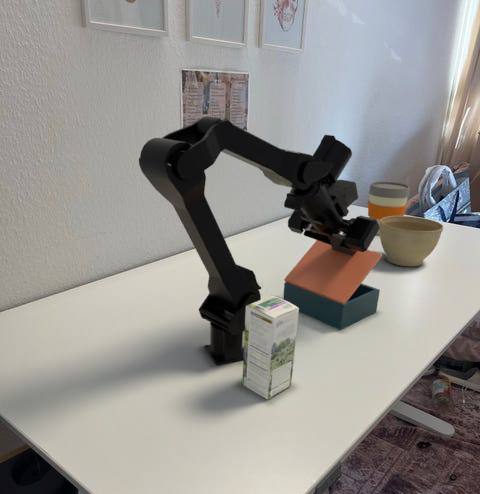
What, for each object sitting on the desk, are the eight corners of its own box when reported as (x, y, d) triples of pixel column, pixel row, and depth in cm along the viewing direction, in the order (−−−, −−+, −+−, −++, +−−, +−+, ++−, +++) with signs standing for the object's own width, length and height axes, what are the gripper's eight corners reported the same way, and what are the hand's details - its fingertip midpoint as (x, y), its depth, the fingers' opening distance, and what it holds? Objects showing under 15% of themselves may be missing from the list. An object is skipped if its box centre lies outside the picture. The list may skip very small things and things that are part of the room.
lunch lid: (321, 238, 106) (314, 221, 102) (382, 256, 96) (377, 238, 92) (285, 281, 103) (276, 265, 99) (344, 305, 92) (337, 288, 89)
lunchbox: (319, 290, 113) (321, 269, 110) (376, 312, 102) (380, 289, 100) (282, 304, 105) (284, 282, 103) (340, 330, 95) (343, 306, 92)
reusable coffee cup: (407, 230, 160) (415, 184, 154) (396, 239, 151) (404, 191, 144) (370, 224, 166) (376, 180, 160) (358, 232, 157) (364, 185, 150)
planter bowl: (448, 267, 128) (457, 228, 123) (399, 274, 123) (406, 233, 118) (408, 249, 142) (415, 213, 137) (362, 255, 136) (368, 217, 131)
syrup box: (265, 372, 80) (270, 293, 74) (292, 387, 77) (299, 305, 70) (241, 385, 77) (243, 303, 70) (268, 401, 73) (273, 316, 67)
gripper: (381, 175, 83) (405, 225, 95) (300, 161, 95) (329, 207, 107) (349, 228, 82) (377, 272, 94) (271, 207, 94) (304, 248, 106)
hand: (346, 247), depth 100 cm, fingers closed on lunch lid, 5 cm apart
